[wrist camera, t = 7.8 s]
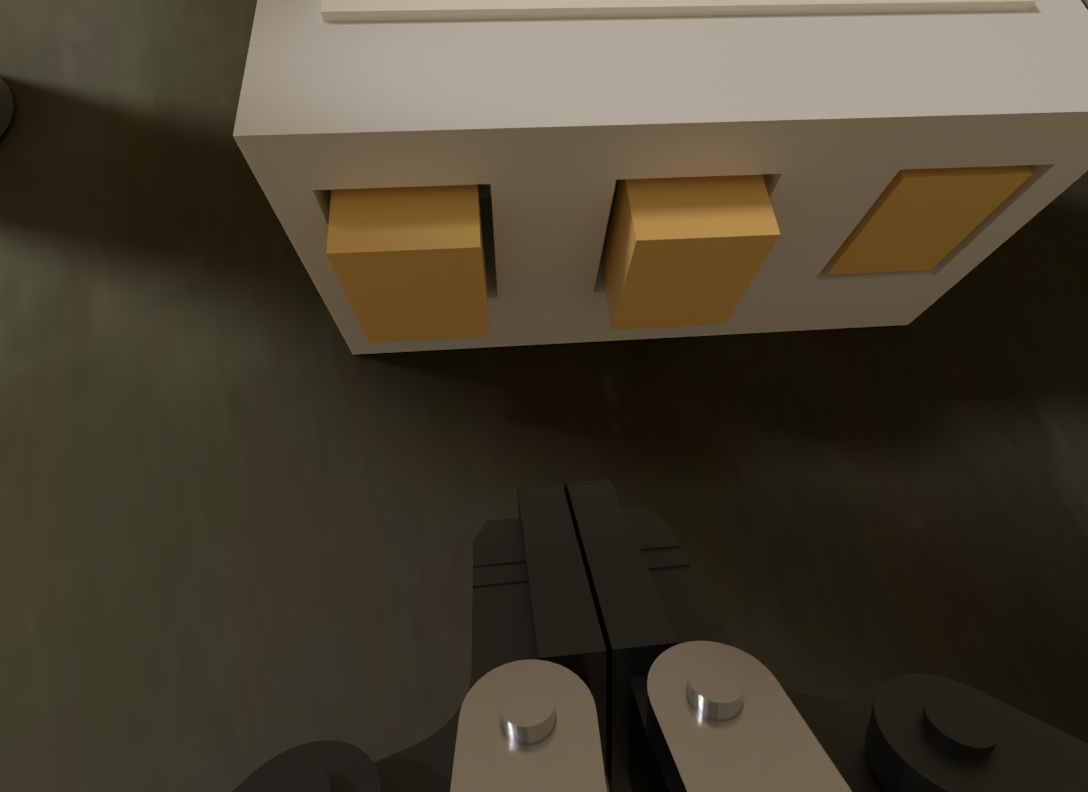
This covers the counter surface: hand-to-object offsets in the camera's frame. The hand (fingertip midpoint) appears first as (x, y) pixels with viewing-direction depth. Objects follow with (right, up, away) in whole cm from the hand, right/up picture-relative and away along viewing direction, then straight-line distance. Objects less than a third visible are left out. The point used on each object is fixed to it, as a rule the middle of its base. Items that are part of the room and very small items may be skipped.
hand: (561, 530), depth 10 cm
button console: (+4, +10, +20) cm, 22 cm away
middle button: (+4, +6, +13) cm, 15 cm away
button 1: (-5, +6, +13) cm, 15 cm away
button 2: (+13, +9, +15) cm, 21 cm away
